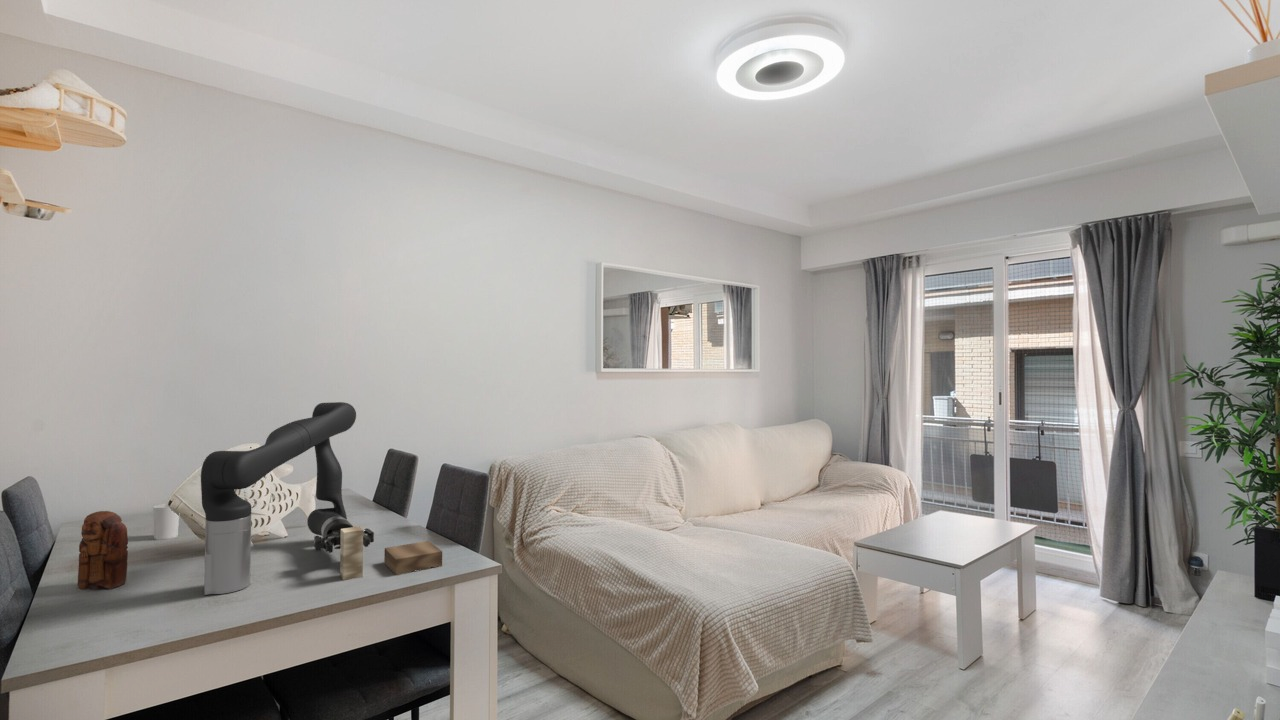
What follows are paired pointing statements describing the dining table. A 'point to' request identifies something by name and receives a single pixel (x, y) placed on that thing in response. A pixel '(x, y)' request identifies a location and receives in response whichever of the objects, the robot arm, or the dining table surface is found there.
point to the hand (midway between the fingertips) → (349, 545)
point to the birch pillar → (351, 553)
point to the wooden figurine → (103, 551)
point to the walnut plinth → (412, 557)
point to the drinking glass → (165, 522)
